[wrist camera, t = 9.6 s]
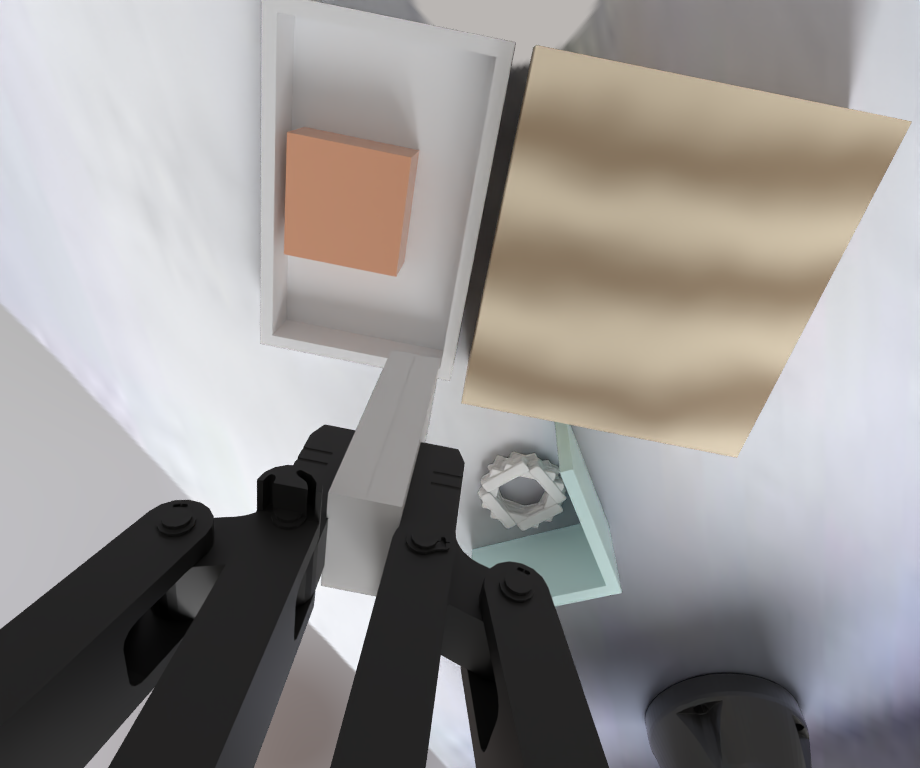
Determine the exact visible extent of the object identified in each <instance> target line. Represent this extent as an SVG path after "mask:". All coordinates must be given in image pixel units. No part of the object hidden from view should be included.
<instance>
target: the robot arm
mask: <svg viewBox="0 0 920 768" xmlns="http://www.w3.org/2000/svg"><path fill="white" fill-rule="evenodd" d="M439 366H440V359H435V358H430V357H425V356H420V355H415V354H410V353H405V352H400V351H395V350H391V352H390V354H389V356H388V359H387V361H386V363H385V365H384V368H383V370H382V372H381V374H380V377H379V379H378V381H377V383H376V386H375V388H374V390H373V392H372V395H371V397H370V399H369V402H368V404H367V406H366V408H365V411H364V413H363V415H362V417H361V420H360V422H359V424H358V426H357V429H356V431H355V430H350V429H345V428H340V427H335V426H330V425H323V426H322V427H320V428H319V429H318V430H316V431H315V432H313V433H312V434H311V435H310V436H309V438H308V440H307V442H306V444H305V445H304V448H303V449H302V451H301V452H300V454H299V456H298V459H297V460H296V461H295V463H294V465H285V466H279V467H275V468H272V469H270V470H268V471H266V472H264V473H263V474H262V475H261V476H260V477H259V478H258V479H257V511H256V513H252V514H249V515H245V516H238V517H221V518H213V514H212V513H211V511H210V509H209V508H208V507H207V506H205V505H204V504H202V503H200V502H196V501H191V500H175V501H171V502H168V503H164V504H161V505H159V506H158V507H156V508H154V509H152V510H150V511H149V512H148V513H146V514H145V515H144V516H143V517H141V518H140V519H139V520H138V521H136V522H135V523H134V524H132V525H131V526H130V527H129V528H127V529H126V530H125V531H124V532H122V533H121V534H120V535H119V536H117V537H116V538H115V539H114V540H112V541H111V542H110V543H108V544H107V545H106V546H105V547H103V548H102V549H101V550H100V551H98V552H97V553H96V554H95V555H93V556H92V557H91V558H90V559H88V560H87V561H86V562H85V563H83V564H82V565H81V566H79V567H78V568H77V569H76V570H74V571H73V572H72V573H71V574H69V575H68V576H67V577H66V578H64V579H63V580H62V581H61V582H60V583H58V584H57V585H56V586H54V587H53V588H52V589H50V590H49V591H48V592H47V593H46V594H44V595H43V596H42V597H40V598H39V599H38V600H37V601H35V602H34V603H33V604H32V605H30V606H29V607H28V608H27V609H25V610H24V611H23V612H21V613H20V614H19V615H18V616H16V617H15V618H14V619H13V620H11V621H10V622H9V623H8V624H6V625H5V626H4V627H3V628H1V629H0V768H84V767H85V766H86V764H87V763H88V762H89V761H90V760H91V759H92V758H93V757H94V755H95V754H96V753H97V752H98V751H99V750H100V749H101V747H102V746H103V745H104V744H105V743H106V742H107V741H108V740H109V738H110V737H111V736H112V735H113V734H114V733H115V732H116V730H117V729H118V728H119V727H120V726H121V725H122V724H123V722H124V721H125V720H126V719H127V718H128V717H129V716H130V714H131V713H132V712H133V711H134V710H135V709H136V707H137V706H138V705H139V704H140V703H141V702H142V701H143V700H144V698H145V697H146V696H147V695H148V694H149V693H150V692H151V691H152V689H153V688H154V687H155V688H154V689H153V691H152V693H151V695H150V696H149V698H148V700H147V701H146V703H145V705H144V707H143V708H142V710H141V712H140V714H139V715H138V717H137V719H136V720H135V722H134V724H133V726H132V727H131V729H130V731H129V733H128V734H127V736H126V738H125V739H124V741H123V743H122V745H121V747H120V748H119V750H118V752H117V753H116V755H115V757H114V758H113V760H112V762H111V764H110V766H109V767H108V768H254V765H255V763H256V760H257V757H258V755H259V752H260V749H261V747H262V743H263V741H264V738H265V736H266V733H267V731H268V728H269V725H270V723H271V720H272V717H273V715H274V712H275V709H276V706H277V704H278V701H279V698H280V696H281V693H282V690H283V688H284V685H285V682H286V680H287V677H288V674H289V671H290V669H291V666H292V663H293V661H294V658H295V655H296V653H297V650H298V647H299V645H300V642H301V639H302V636H303V634H304V631H305V629H306V626H307V623H308V621H309V618H310V615H311V612H312V610H313V607H314V600H315V589H316V587H317V584H318V581H319V579H320V576H321V574H322V577H321V586H325V587H330V588H335V589H341V590H346V591H351V592H356V593H361V594H366V595H371V596H376V600H375V603H374V607H373V611H372V614H371V618H370V622H369V626H368V629H367V633H366V637H365V640H364V644H363V648H362V652H361V655H360V659H359V663H358V666H357V670H356V674H355V678H354V681H353V685H352V689H351V692H350V696H349V700H348V703H347V707H346V711H345V715H344V718H343V722H342V726H341V729H340V733H339V737H338V741H337V744H336V748H335V752H334V756H333V759H332V763H331V767H330V768H425V767H426V760H427V753H428V745H429V738H430V731H431V723H432V716H433V708H434V701H435V693H436V686H437V678H438V671H439V664H440V656H441V655H442V656H444V657H446V658H448V659H449V660H451V661H453V662H455V663H457V664H458V665H460V666H461V674H462V680H463V687H464V693H465V700H466V706H467V712H468V719H469V725H470V732H471V738H472V744H473V751H474V757H475V764H476V768H609V766H608V763H607V760H606V757H605V754H604V751H603V748H602V745H601V742H600V739H599V736H598V733H597V730H596V727H595V724H594V722H593V719H592V716H591V713H590V710H589V707H588V704H587V701H586V698H585V695H584V692H583V689H582V686H581V683H580V680H579V677H578V674H577V671H576V668H575V665H574V662H573V659H572V656H571V653H570V650H569V647H568V644H567V641H566V638H565V635H564V632H563V629H562V626H561V623H560V620H559V618H558V615H557V612H556V609H555V606H554V603H553V600H552V597H551V594H550V591H549V588H548V586H547V584H546V582H545V581H544V579H543V577H542V576H541V575H540V574H538V573H537V572H536V571H535V570H534V569H533V568H531V567H528V566H526V565H524V564H522V563H517V562H511V561H508V562H502V563H498V564H496V565H494V566H493V567H491V568H488V567H486V566H484V565H482V564H480V563H478V562H476V561H475V560H473V559H471V558H470V557H469V556H467V555H466V554H465V553H464V552H463V551H462V549H461V548H460V546H459V545H458V542H457V540H456V523H457V516H458V508H459V501H460V493H461V486H462V478H463V471H464V461H463V459H462V456H461V454H460V452H459V450H458V449H453V448H448V447H443V446H438V445H433V444H428V443H425V441H426V437H427V433H428V427H429V421H430V416H431V410H432V405H433V399H434V393H435V388H436V382H437V377H438V371H439ZM645 723H646V729H647V734H648V739H649V744H650V747H651V750H652V752H653V754H654V756H655V758H656V759H657V761H658V763H659V765H660V767H661V768H812V764H811V753H810V742H809V732H808V728H807V725H806V722H805V720H804V717H803V715H802V713H801V710H800V708H799V706H798V704H797V702H796V700H795V699H794V697H793V696H792V695H791V694H790V693H789V692H788V691H787V690H785V689H784V688H782V687H781V686H779V685H777V684H775V683H773V682H771V681H768V680H766V679H763V678H759V677H755V676H750V675H743V674H712V675H705V676H700V677H695V678H692V679H688V680H685V681H683V682H680V683H678V684H675V685H673V686H671V687H670V688H668V689H666V690H665V691H663V692H662V693H661V694H659V695H658V696H657V697H656V698H655V699H654V700H653V702H652V703H651V704H650V706H649V708H648V710H647V712H646V717H645Z"/></svg>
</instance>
